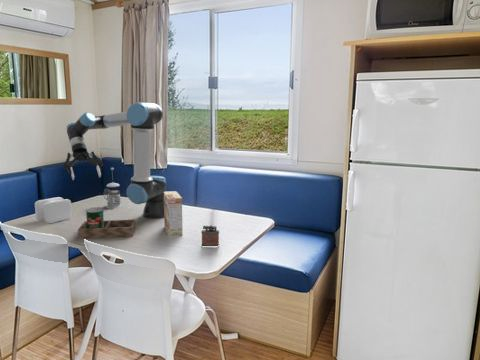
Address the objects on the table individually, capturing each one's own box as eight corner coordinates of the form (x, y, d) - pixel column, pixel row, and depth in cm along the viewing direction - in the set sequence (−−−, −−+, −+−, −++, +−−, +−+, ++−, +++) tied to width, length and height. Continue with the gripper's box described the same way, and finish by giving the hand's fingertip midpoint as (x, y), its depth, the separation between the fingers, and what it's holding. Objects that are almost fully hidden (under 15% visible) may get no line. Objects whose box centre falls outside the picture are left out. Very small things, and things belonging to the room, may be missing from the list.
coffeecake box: (163, 227, 190) (163, 191, 186) (177, 226, 192) (176, 190, 188) (168, 236, 176) (167, 198, 172) (183, 235, 178) (182, 197, 174)
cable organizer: (44, 225, 189) (42, 204, 186) (35, 221, 195) (33, 200, 193) (72, 219, 200) (70, 198, 198) (63, 215, 207) (61, 195, 204)
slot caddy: (135, 227, 188) (135, 219, 187) (132, 236, 175) (132, 227, 174) (85, 229, 183) (84, 221, 183) (78, 238, 171) (77, 229, 170)
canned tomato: (89, 234, 173) (88, 212, 171) (85, 230, 179) (84, 209, 177) (106, 231, 177) (105, 210, 175) (101, 227, 184) (100, 206, 181)
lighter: (219, 245, 166) (219, 224, 164) (218, 247, 163) (219, 227, 161) (201, 245, 166) (201, 224, 164) (201, 247, 163) (201, 226, 161)
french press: (125, 205, 229) (123, 167, 224) (110, 209, 219) (108, 169, 214) (115, 203, 234) (113, 165, 229) (100, 207, 224) (97, 168, 219)
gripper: (100, 149, 211) (109, 178, 202) (53, 152, 196) (61, 183, 187) (102, 141, 206) (111, 170, 197) (54, 143, 191) (62, 175, 182)
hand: (87, 177), depth 192 cm, fingers open, 13 cm apart
